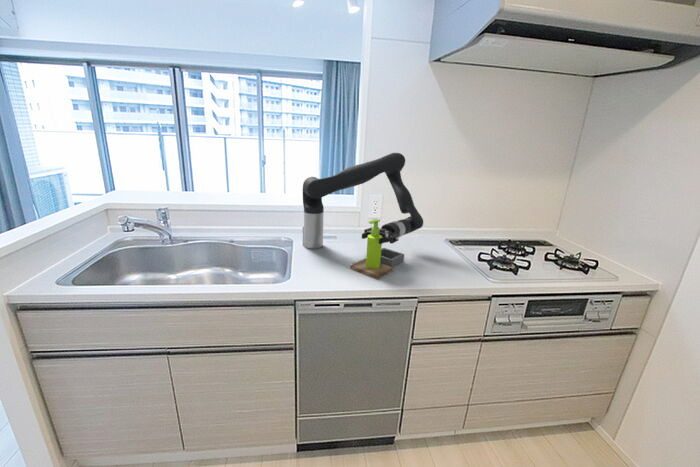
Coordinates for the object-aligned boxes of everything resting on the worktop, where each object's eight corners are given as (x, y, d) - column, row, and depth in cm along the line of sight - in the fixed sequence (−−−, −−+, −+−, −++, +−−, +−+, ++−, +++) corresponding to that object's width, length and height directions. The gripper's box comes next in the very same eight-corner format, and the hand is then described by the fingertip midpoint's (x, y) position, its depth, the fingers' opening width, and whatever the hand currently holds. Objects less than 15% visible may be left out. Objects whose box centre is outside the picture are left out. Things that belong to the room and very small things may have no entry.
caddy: (370, 261, 140) (370, 253, 139) (383, 255, 147) (383, 247, 146) (391, 269, 133) (391, 260, 132) (403, 262, 141) (404, 254, 140)
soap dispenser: (361, 266, 131) (364, 219, 125) (371, 262, 136) (375, 217, 130) (372, 270, 127) (375, 223, 121) (382, 266, 132) (386, 220, 126)
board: (350, 268, 132) (350, 265, 132) (366, 261, 140) (366, 258, 140) (377, 279, 124) (377, 275, 123) (392, 270, 132) (393, 267, 131)
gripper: (380, 219, 141) (357, 226, 129) (408, 226, 133) (386, 234, 121) (379, 234, 144) (356, 243, 132) (406, 242, 135) (384, 252, 123)
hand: (370, 239), depth 126 cm, fingers open, 8 cm apart
